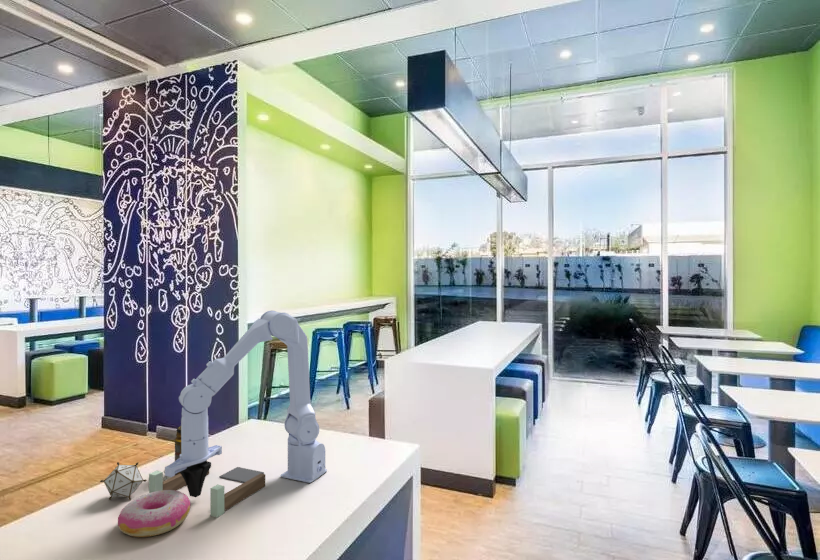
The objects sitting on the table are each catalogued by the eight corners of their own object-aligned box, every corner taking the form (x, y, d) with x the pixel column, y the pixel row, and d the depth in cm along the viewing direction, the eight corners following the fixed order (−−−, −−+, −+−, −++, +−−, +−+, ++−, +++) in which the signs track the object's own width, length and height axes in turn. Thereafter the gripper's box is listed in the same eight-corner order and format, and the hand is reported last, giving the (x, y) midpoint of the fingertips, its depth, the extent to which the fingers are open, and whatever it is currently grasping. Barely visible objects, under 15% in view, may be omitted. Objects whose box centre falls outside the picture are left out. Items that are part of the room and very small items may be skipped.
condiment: (203, 473, 122) (203, 428, 122) (167, 480, 118) (167, 433, 118) (198, 463, 128) (198, 421, 128) (164, 470, 124) (164, 426, 124)
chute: (266, 486, 114) (267, 462, 114) (217, 517, 100) (217, 489, 99) (203, 472, 122) (203, 450, 122) (149, 499, 108) (148, 473, 108)
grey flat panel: (263, 473, 122) (263, 472, 122) (246, 483, 116) (246, 482, 116) (237, 467, 126) (237, 466, 126) (219, 477, 120) (219, 476, 120)
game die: (122, 516, 107) (104, 495, 101) (105, 495, 111) (87, 473, 105) (158, 487, 112) (143, 465, 106) (140, 468, 116) (125, 446, 110)
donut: (144, 507, 104) (144, 485, 104) (202, 508, 104) (202, 486, 104) (102, 541, 91) (102, 516, 91) (168, 543, 90) (168, 517, 90)
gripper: (206, 425, 115) (206, 479, 115) (154, 445, 102) (154, 506, 102) (228, 429, 112) (228, 484, 112) (178, 449, 99) (178, 512, 99)
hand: (195, 495), depth 107 cm, fingers closed
